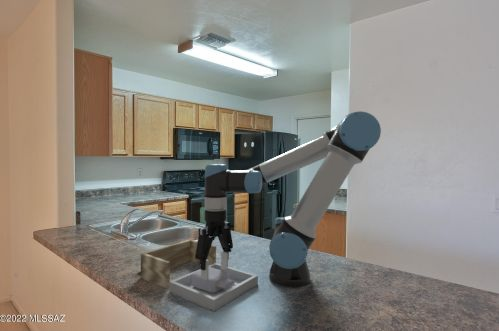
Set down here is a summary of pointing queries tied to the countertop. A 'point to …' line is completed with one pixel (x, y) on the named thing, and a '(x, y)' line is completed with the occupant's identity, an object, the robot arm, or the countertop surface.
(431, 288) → the countertop surface
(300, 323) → the countertop surface
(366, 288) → the countertop surface
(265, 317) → the countertop surface
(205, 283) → the charger
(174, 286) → the tray
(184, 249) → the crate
